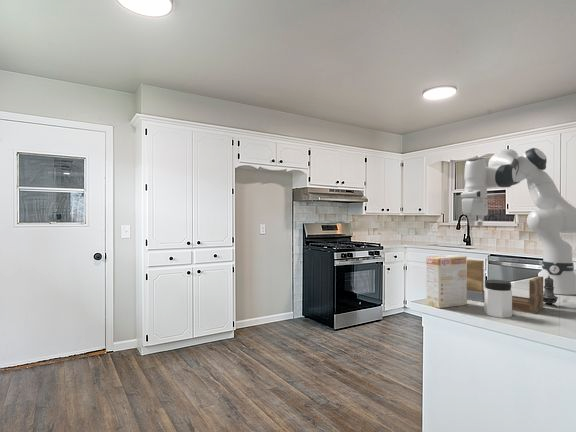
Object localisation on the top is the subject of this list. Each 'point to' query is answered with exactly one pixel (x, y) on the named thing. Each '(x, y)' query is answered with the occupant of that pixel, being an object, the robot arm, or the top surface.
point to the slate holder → (475, 296)
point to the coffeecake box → (446, 281)
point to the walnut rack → (531, 297)
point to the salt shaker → (549, 293)
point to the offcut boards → (520, 300)
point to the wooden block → (475, 276)
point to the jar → (498, 298)
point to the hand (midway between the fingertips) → (475, 225)
